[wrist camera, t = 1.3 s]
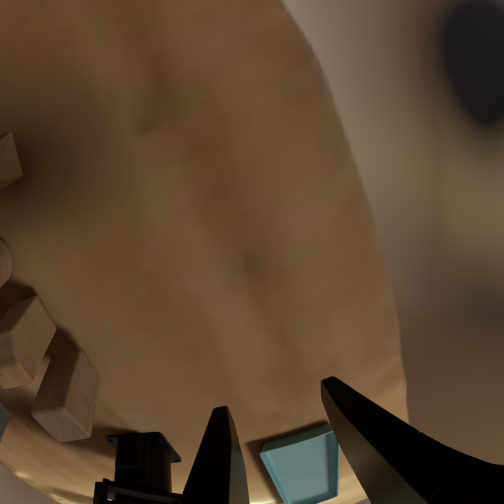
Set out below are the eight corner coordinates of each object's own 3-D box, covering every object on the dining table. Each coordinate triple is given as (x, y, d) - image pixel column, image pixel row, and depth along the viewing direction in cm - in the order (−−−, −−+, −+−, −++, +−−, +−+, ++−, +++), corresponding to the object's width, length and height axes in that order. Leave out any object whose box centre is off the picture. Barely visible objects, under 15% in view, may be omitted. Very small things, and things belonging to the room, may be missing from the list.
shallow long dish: (254, 439, 28) (258, 457, 26) (334, 414, 29) (342, 430, 27) (284, 501, 38) (287, 512, 36) (334, 486, 39) (338, 496, 37)
